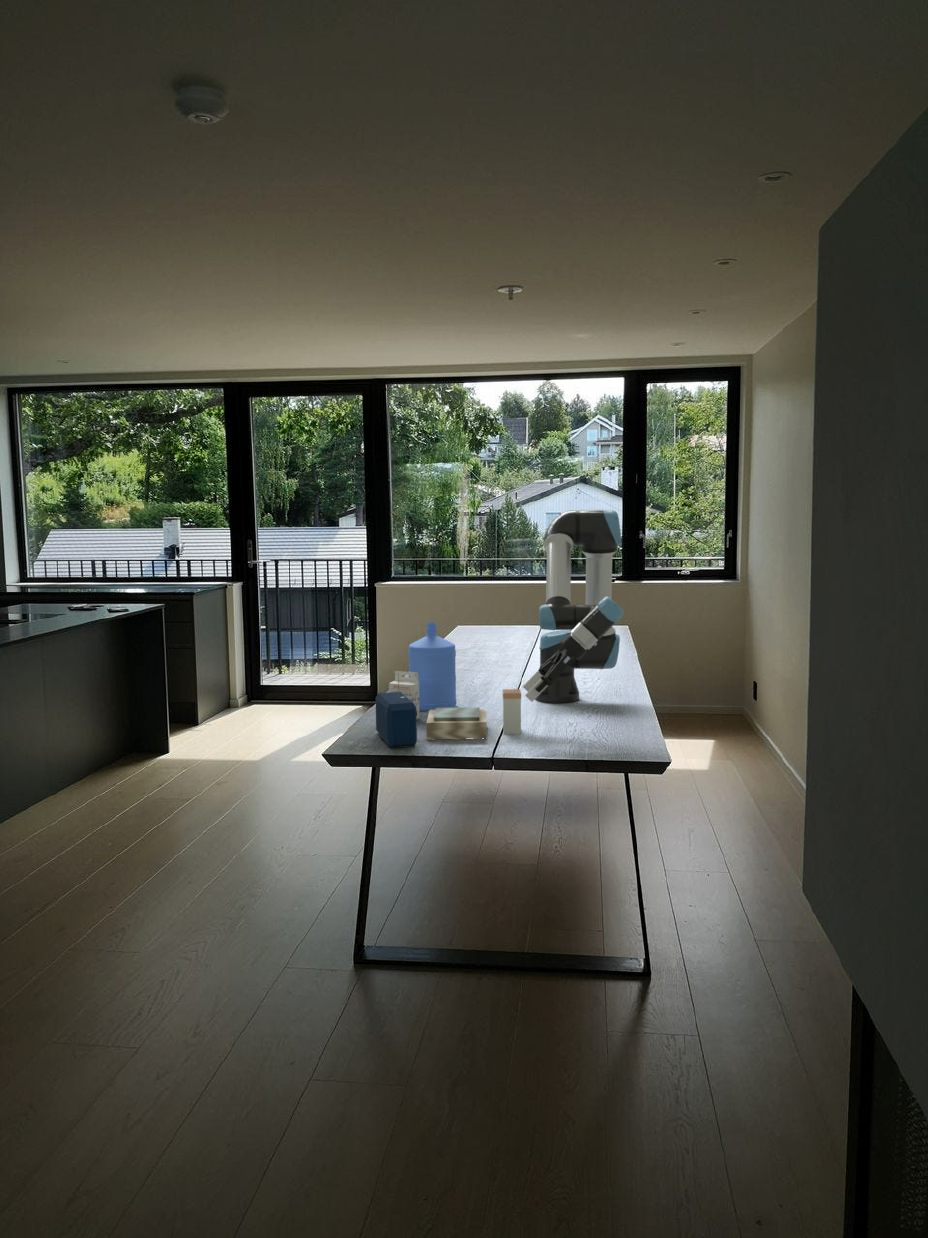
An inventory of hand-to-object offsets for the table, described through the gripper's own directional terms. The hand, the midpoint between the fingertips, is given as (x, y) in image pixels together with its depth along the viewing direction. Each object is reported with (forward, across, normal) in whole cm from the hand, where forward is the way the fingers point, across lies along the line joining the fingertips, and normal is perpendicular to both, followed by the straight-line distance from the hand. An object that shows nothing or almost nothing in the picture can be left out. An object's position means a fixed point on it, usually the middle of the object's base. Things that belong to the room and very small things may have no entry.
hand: (526, 694), depth 268 cm
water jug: (+28, +36, +13) cm, 48 cm away
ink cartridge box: (+34, +19, +18) cm, 43 cm away
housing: (+11, +2, -5) cm, 12 cm away
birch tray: (+22, +1, +7) cm, 23 cm away
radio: (+35, -7, +18) cm, 40 cm away
